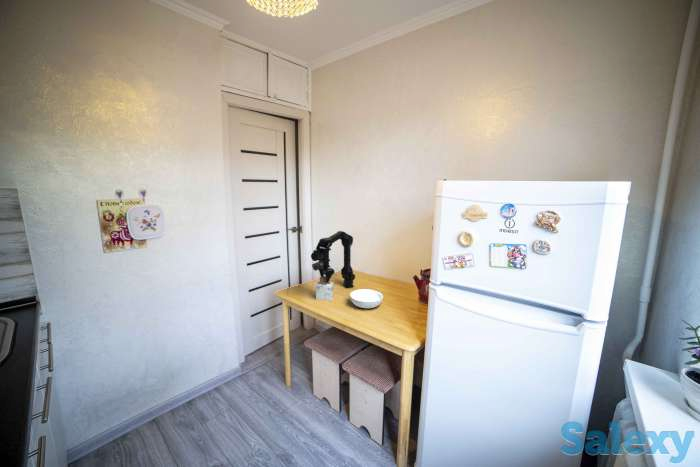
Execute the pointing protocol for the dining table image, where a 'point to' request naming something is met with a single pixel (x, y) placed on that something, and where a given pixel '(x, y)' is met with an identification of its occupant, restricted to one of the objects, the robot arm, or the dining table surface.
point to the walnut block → (324, 280)
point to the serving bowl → (366, 298)
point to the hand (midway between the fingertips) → (324, 280)
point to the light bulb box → (324, 291)
